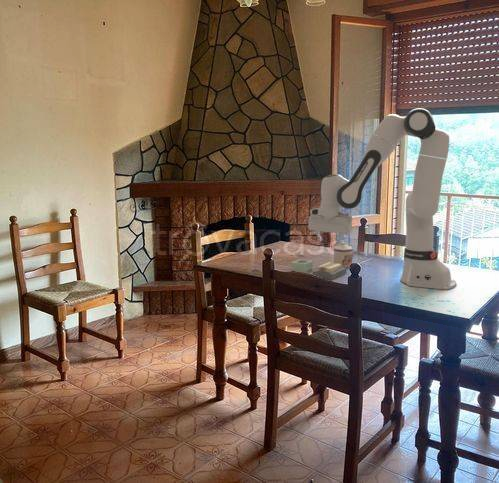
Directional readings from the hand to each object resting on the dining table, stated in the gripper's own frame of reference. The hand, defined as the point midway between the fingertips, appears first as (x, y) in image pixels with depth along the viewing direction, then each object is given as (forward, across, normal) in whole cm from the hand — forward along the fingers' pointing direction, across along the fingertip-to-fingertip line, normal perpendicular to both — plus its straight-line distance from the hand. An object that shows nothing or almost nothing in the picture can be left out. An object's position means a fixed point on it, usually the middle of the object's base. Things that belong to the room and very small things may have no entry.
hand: (329, 242), depth 232 cm
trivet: (+15, -1, 0) cm, 15 cm away
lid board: (+13, -1, 0) cm, 13 cm away
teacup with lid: (+15, +1, -20) cm, 25 cm away
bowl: (+15, +13, 0) cm, 20 cm away
